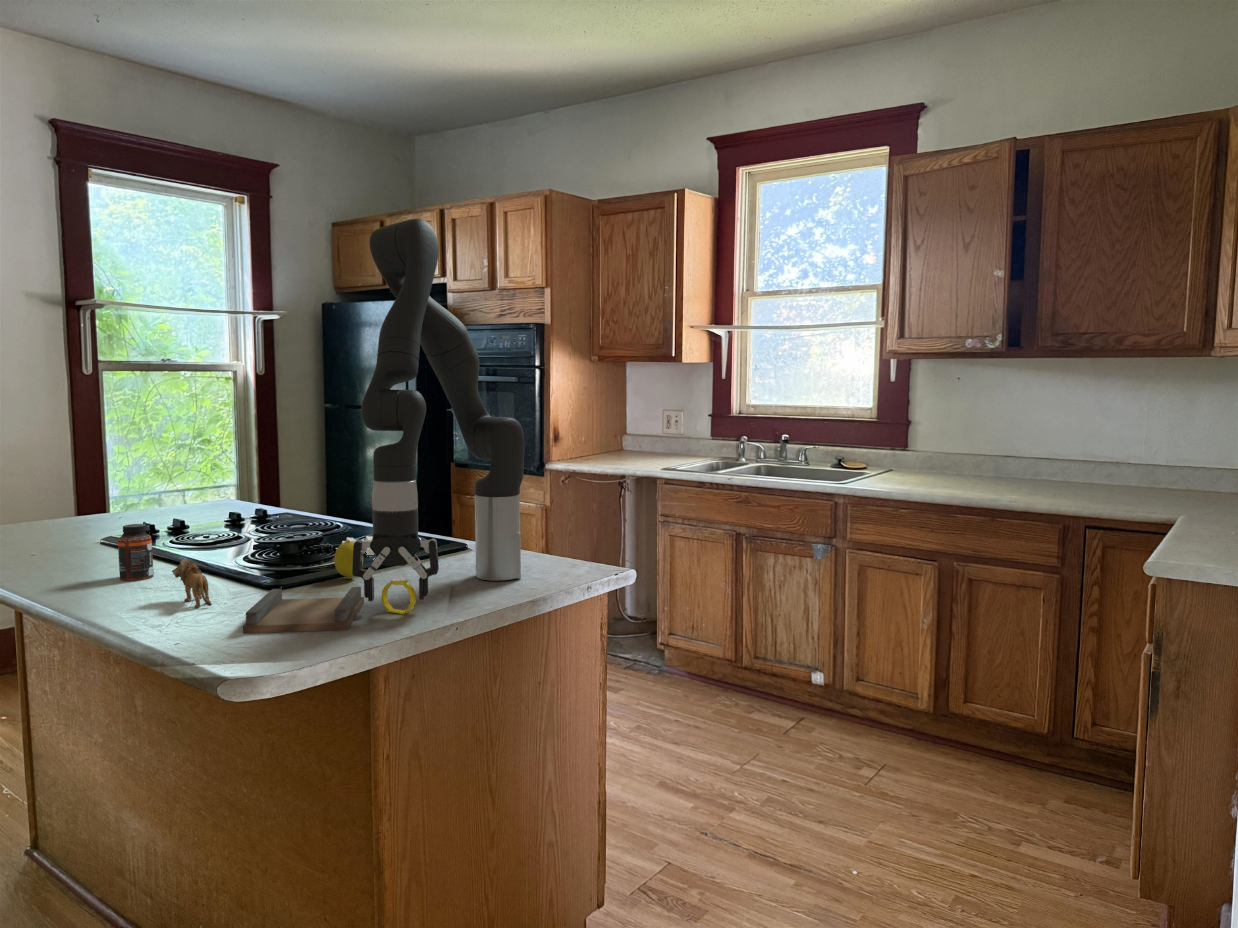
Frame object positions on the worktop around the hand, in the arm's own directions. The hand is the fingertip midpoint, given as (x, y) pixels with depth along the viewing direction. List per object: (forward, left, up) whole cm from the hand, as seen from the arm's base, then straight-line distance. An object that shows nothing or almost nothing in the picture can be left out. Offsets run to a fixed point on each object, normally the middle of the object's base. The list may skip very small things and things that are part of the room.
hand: (396, 599), depth 146 cm
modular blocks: (+13, -51, -3) cm, 52 cm away
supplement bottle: (+55, -32, -3) cm, 63 cm away
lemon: (+13, -28, -3) cm, 31 cm away
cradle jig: (+15, +1, -2) cm, 15 cm away
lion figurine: (+37, -12, -3) cm, 39 cm away
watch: (0, 0, -3) cm, 3 cm away
